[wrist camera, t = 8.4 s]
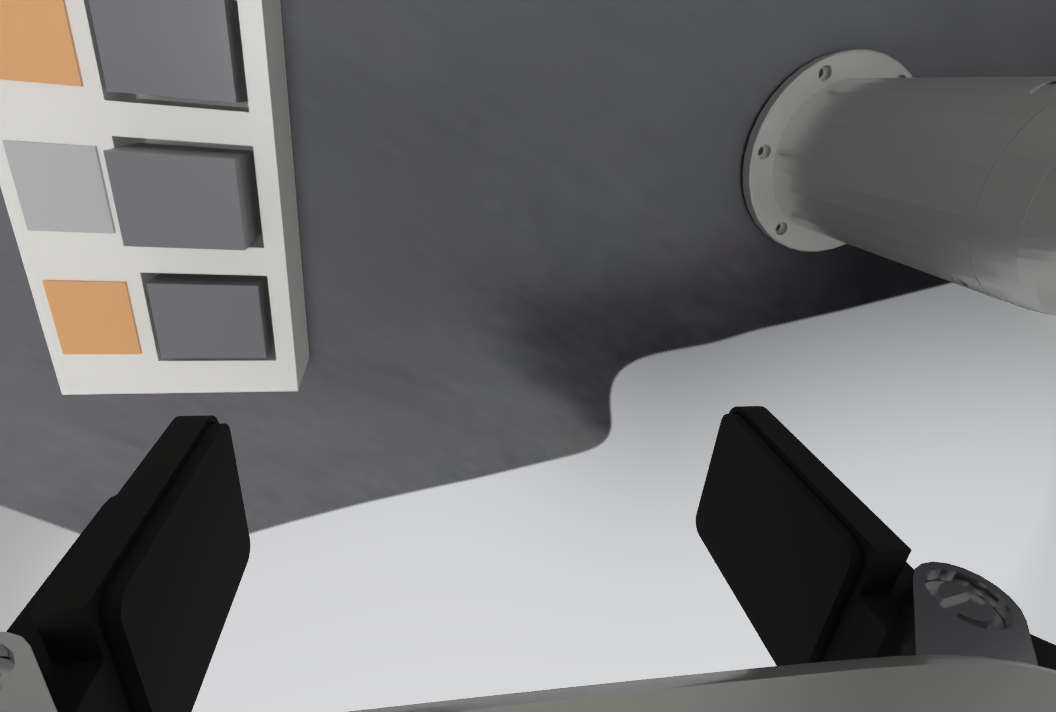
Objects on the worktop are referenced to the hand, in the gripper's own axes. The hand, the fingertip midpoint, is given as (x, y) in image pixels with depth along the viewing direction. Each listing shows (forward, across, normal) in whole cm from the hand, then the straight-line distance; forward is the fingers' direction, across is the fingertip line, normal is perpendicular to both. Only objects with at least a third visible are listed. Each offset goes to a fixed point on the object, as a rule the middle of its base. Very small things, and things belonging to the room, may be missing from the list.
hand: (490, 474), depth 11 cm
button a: (+25, +13, -7) cm, 29 cm away
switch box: (+26, +15, -1) cm, 30 cm away
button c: (+25, +13, +6) cm, 28 cm away
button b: (+23, +13, -1) cm, 26 cm away
